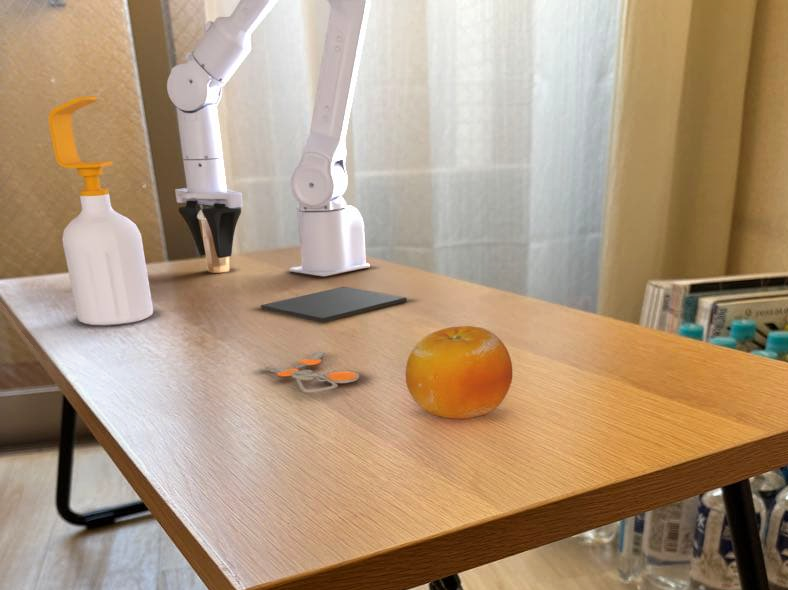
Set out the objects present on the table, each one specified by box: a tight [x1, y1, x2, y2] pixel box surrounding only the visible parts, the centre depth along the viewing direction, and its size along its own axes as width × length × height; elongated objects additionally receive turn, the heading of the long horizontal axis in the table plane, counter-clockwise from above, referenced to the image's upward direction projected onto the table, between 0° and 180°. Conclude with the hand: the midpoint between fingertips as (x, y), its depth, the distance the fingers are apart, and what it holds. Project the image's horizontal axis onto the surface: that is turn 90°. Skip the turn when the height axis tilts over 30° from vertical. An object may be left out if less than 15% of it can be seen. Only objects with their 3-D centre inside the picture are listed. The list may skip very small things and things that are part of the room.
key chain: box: [265, 351, 360, 394], centre depth 85 cm, size 13×7×1 cm, turn 24°
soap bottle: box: [48, 95, 154, 327], centre depth 105 cm, size 9×9×25 cm
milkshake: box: [197, 205, 230, 274], centre depth 135 cm, size 4×5×10 cm
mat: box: [260, 286, 408, 323], centre depth 113 cm, size 14×12×1 cm
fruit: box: [405, 325, 513, 420], centre depth 73 cm, size 8×8×8 cm
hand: (215, 255), depth 136 cm, fingers closed on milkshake, 4 cm apart
